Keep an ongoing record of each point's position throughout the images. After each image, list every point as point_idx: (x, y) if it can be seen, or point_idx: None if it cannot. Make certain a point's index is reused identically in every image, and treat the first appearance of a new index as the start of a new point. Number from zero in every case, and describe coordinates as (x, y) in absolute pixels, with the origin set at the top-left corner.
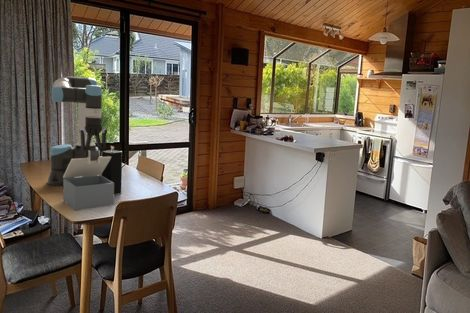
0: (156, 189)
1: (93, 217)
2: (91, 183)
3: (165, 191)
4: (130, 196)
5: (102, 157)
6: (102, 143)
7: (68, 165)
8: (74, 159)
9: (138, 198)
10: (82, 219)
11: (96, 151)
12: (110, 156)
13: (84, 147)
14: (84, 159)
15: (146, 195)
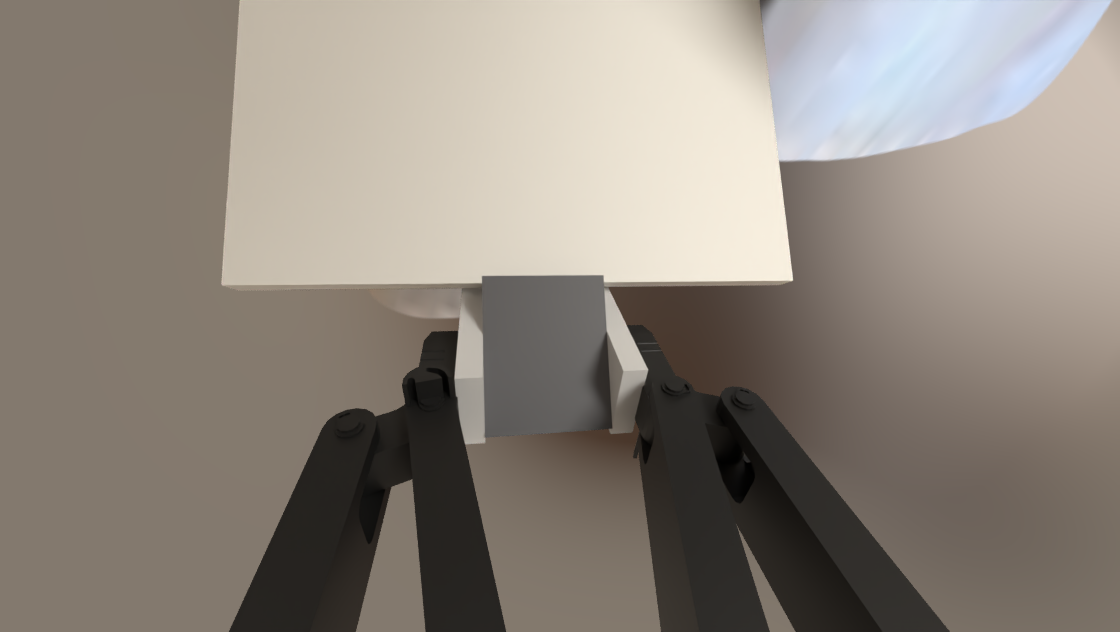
0: (1012, 23)
1: (454, 309)
2: None
3: (992, 102)
4: (780, 88)
5: (678, 282)
6: (748, 498)
7: (235, 97)
8: (275, 288)
9: (781, 152)
10: (403, 311)
11: (578, 428)
12: (784, 280)
13: (373, 508)
14: (429, 285)
15: (856, 120)
